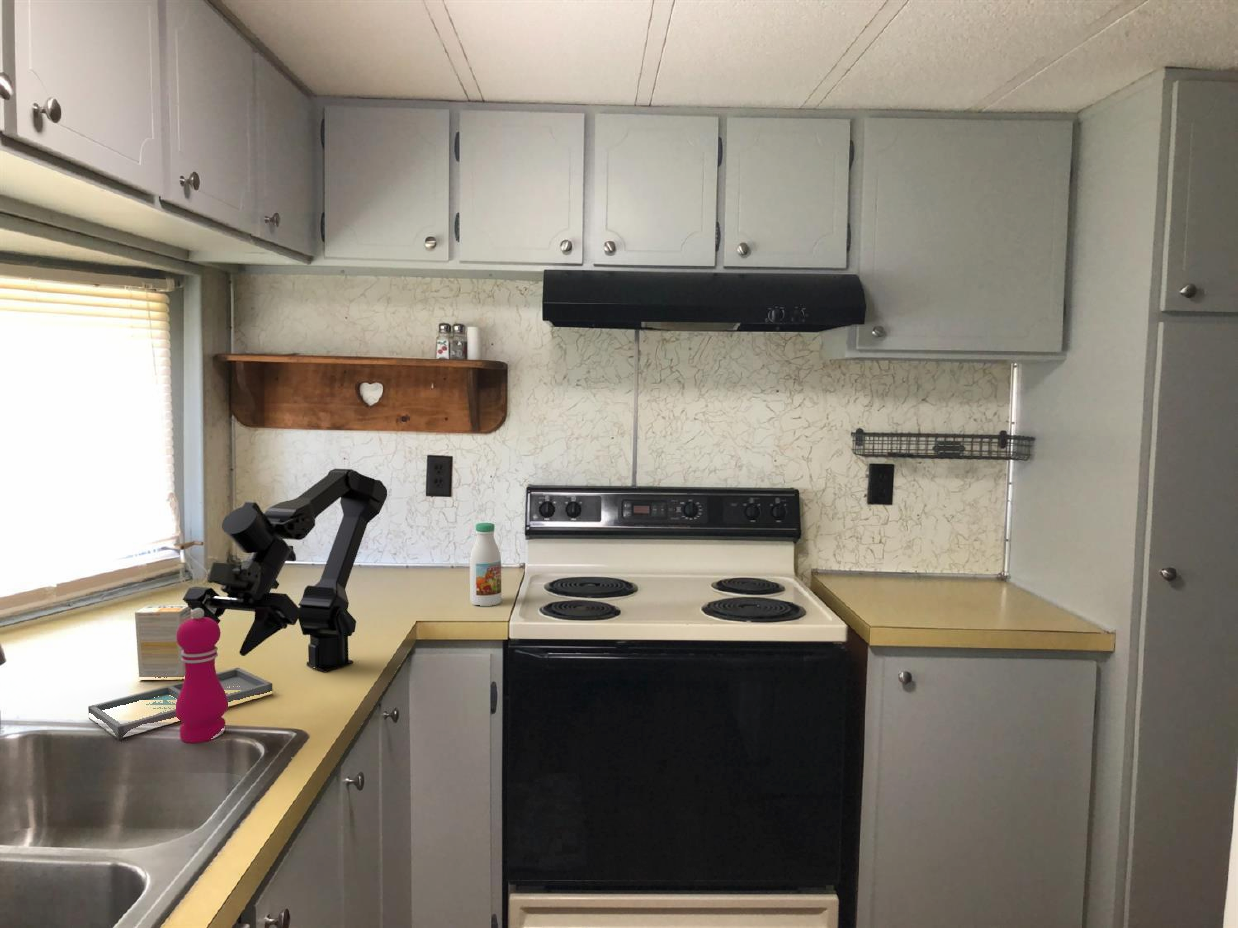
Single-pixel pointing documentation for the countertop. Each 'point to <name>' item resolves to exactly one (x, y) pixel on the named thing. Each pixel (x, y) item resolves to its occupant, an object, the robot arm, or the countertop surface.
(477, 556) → the milk bottle
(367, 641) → the countertop surface
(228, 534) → the robot arm
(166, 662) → the supplement box
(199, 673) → the pepper mill
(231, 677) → the sorting tray
